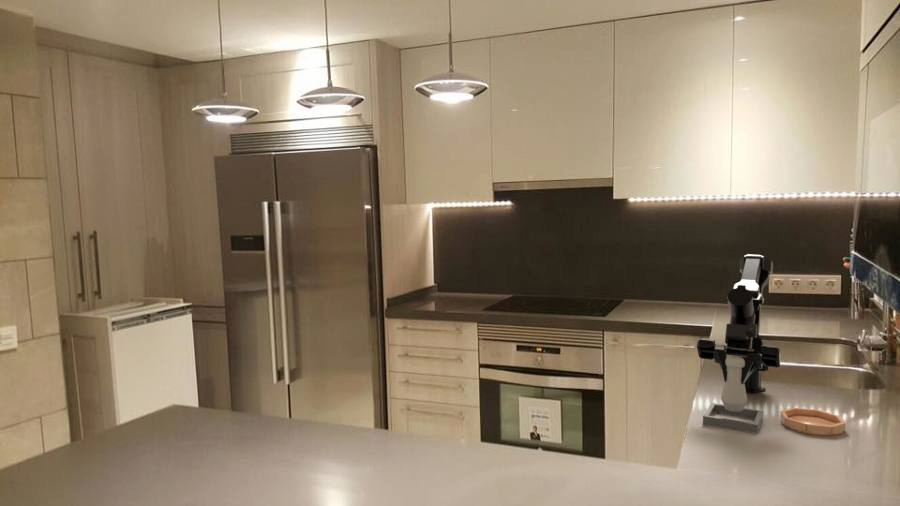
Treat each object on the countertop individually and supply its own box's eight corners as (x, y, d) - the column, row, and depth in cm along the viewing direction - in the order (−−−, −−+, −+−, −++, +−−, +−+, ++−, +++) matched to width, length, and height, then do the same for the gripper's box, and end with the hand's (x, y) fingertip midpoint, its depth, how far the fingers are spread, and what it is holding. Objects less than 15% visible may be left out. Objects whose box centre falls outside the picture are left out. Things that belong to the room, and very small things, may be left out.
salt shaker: (739, 404, 158) (741, 353, 156) (751, 412, 152) (753, 359, 151) (716, 405, 157) (718, 354, 156) (727, 413, 152) (729, 360, 151)
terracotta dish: (802, 413, 160) (803, 405, 160) (855, 429, 149) (855, 420, 149) (769, 421, 154) (770, 413, 154) (821, 439, 143) (822, 429, 143)
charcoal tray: (711, 410, 163) (711, 402, 163) (762, 418, 157) (763, 410, 157) (702, 424, 153) (703, 416, 153) (757, 433, 147) (757, 425, 146)
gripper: (699, 307, 161) (689, 359, 152) (781, 314, 151) (775, 369, 143) (703, 332, 168) (694, 382, 160) (782, 339, 158) (777, 394, 150)
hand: (733, 382), depth 153 cm, fingers closed on salt shaker, 3 cm apart
